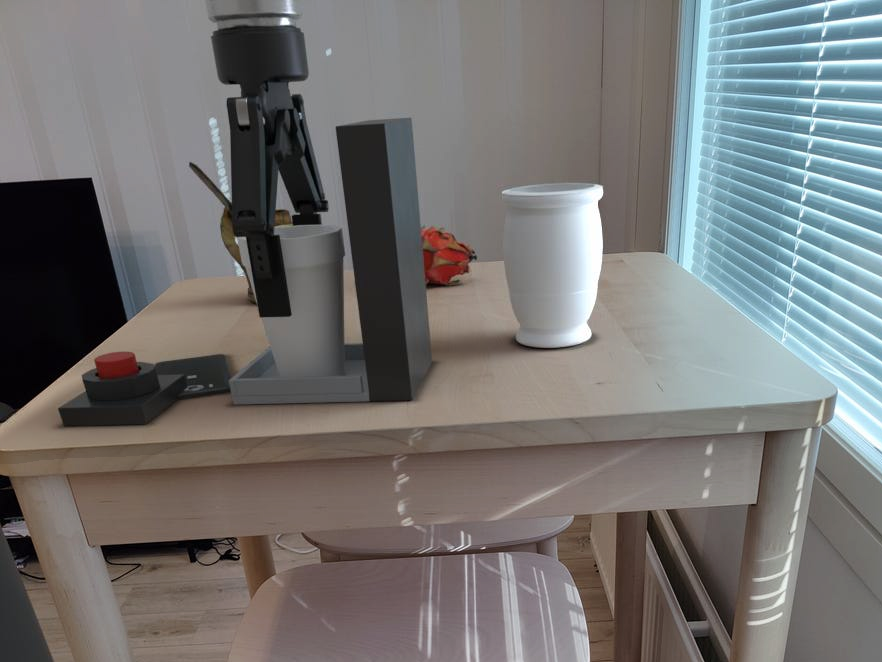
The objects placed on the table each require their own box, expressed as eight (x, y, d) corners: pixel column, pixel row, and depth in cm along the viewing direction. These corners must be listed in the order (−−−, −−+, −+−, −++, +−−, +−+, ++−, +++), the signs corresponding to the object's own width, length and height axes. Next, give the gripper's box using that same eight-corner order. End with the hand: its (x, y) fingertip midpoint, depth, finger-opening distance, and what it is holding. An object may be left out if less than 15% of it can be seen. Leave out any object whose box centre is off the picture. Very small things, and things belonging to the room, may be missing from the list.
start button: (92, 381, 79) (86, 362, 78) (110, 370, 82) (105, 351, 82) (129, 380, 79) (123, 361, 78) (145, 369, 82) (141, 350, 81)
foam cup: (371, 378, 83) (353, 231, 76) (277, 395, 80) (249, 244, 73) (343, 357, 91) (325, 221, 84) (256, 372, 88) (229, 232, 81)
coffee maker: (233, 404, 81) (176, 136, 69) (273, 367, 92) (230, 128, 80) (412, 400, 79) (384, 123, 67) (432, 362, 90) (411, 117, 78)
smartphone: (155, 406, 84) (153, 398, 83) (156, 369, 96) (155, 361, 95) (235, 395, 85) (233, 386, 85) (226, 359, 98) (224, 352, 97)
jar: (529, 325, 101) (526, 182, 93) (613, 330, 97) (617, 180, 89) (490, 348, 93) (483, 194, 85) (580, 354, 89) (581, 193, 81)
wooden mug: (214, 301, 125) (185, 160, 116) (306, 289, 129) (285, 151, 119) (222, 312, 118) (190, 163, 108) (318, 299, 122) (297, 154, 112)
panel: (63, 426, 79) (50, 388, 77) (113, 393, 87) (103, 358, 85) (146, 424, 78) (135, 385, 76) (188, 391, 86) (180, 355, 84)
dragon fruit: (395, 295, 129) (473, 305, 128) (383, 268, 121) (467, 279, 120) (405, 240, 129) (483, 250, 128) (394, 209, 121) (478, 220, 120)
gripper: (259, 35, 81) (295, 275, 93) (148, 19, 60) (211, 332, 72) (337, 30, 80) (363, 273, 92) (251, 13, 59) (299, 331, 71)
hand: (297, 300), depth 82 cm, fingers open, 13 cm apart
